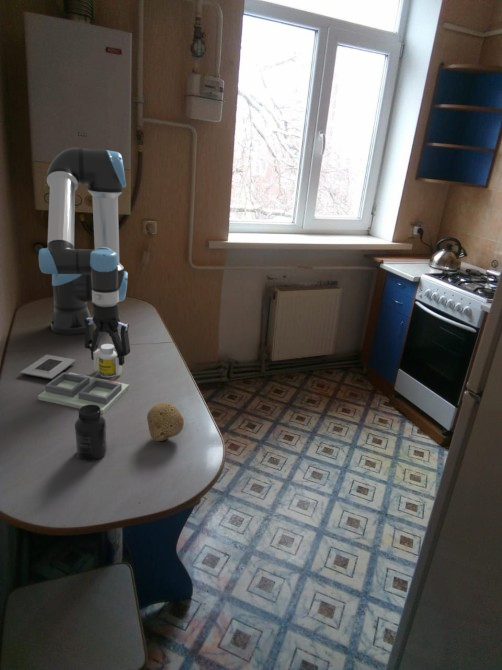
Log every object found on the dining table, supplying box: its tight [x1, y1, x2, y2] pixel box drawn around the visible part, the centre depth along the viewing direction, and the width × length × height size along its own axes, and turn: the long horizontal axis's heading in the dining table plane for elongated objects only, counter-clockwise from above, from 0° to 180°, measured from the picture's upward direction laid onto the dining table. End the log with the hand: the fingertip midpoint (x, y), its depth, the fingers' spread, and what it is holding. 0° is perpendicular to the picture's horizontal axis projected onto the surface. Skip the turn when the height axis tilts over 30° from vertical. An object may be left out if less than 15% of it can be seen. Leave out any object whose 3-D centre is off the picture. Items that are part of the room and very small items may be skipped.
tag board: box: [37, 371, 130, 415], centre depth 131 cm, size 15×20×3 cm
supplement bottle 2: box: [98, 343, 118, 378], centre depth 141 cm, size 5×5×10 cm
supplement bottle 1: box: [74, 405, 108, 462], centre depth 106 cm, size 7×7×12 cm
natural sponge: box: [146, 402, 184, 442], centre depth 113 cm, size 9×9×10 cm
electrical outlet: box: [19, 354, 77, 380], centre depth 142 cm, size 13×10×2 cm
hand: (108, 371), depth 143 cm, fingers open, 7 cm apart
